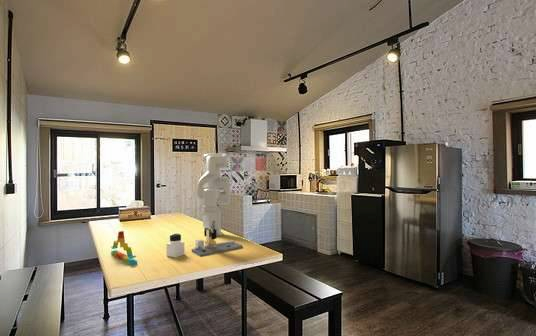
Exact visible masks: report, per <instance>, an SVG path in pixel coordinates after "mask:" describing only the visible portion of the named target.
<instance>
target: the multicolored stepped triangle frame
mask: <svg viewBox="0 0 536 336" xmlns="http://www.w3.org/2000/svg"><path fill="white" fill-rule="evenodd" d="M125 240H126V239H125V232H124V230H121V231H118V234H117V240H113V245H112V246H110V248H111V249H112V250H110V254H111V255H113V256H114V257H116V258H117V259H119V260H121V261H123V262H125V263H126V264H129V265H130V266H135V265H138V260H136V259H135V258H136V257H137V255H133V251H132V247H130V246H129V245H128V243H127V242H125ZM118 247H120V248H122V249H123V251H125V252H126V253H124V252H121V251H119V250H117V249H118Z"/></svg>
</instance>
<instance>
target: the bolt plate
mask: <svg viewBox="0 0 536 336" xmlns="http://www.w3.org/2000/svg"><path fill="white" fill-rule="evenodd" d="M243 247H244V246H243V244H240V243H238V242H235V240H232V239H231V240H226V241H223V242H221V241H220V242H216V248H214V246H212V245H210V246H208V245H205V241H204V240H203V239H196V240H195V247H194V248H192V249H191V252H192V253H193V254H195V255H196V256H199V257H204V256H209V255H215V254H218V253H219V254H220V253H224V252H229V251H234V250H238V249H243Z"/></svg>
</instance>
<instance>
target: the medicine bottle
mask: <svg viewBox="0 0 536 336" xmlns="http://www.w3.org/2000/svg"><path fill="white" fill-rule="evenodd" d="M165 249H166V257H171V258H178V257H181V256H184V255H185V253H186V252H185V242H183V241H182V235H181V233H172V234H170V235H169V242H167V243H166V248H165Z"/></svg>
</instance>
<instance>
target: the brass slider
mask: <svg viewBox="0 0 536 336" xmlns="http://www.w3.org/2000/svg"><path fill="white" fill-rule="evenodd" d="M213 230H214V229H213ZM211 232H212V231H211V229H206V236H205V237H206V240H205V241H204V246H205V245H208V246H210V245H212V246H214V248H216V243H217V240H216V239H211Z"/></svg>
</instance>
